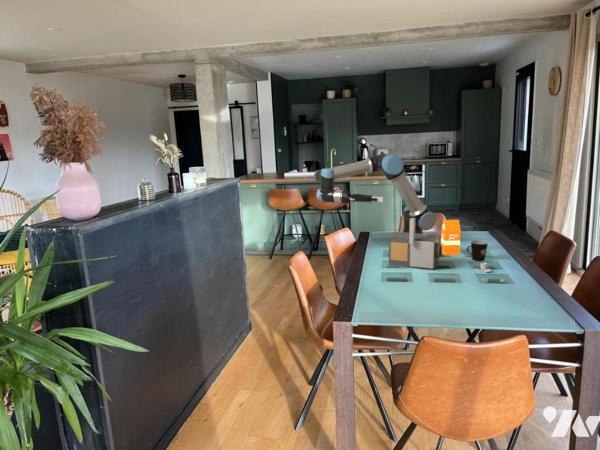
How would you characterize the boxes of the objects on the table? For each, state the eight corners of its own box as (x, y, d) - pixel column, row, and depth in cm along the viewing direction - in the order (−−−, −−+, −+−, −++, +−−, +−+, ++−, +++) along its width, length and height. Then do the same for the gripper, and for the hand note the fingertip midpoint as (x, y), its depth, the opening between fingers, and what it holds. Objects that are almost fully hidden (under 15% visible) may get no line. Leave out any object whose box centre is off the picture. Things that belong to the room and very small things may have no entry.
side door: (410, 265, 242) (411, 217, 237) (433, 267, 237) (435, 219, 232) (408, 267, 239) (409, 219, 233) (432, 270, 233) (433, 220, 228)
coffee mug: (484, 257, 256) (485, 240, 254) (488, 262, 248) (489, 244, 245) (462, 257, 257) (463, 240, 255) (466, 262, 249) (467, 244, 247)
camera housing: (394, 259, 258) (394, 229, 255) (442, 263, 247) (443, 233, 243) (388, 264, 248) (389, 234, 244) (438, 270, 236) (439, 238, 233)
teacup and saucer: (493, 274, 229) (494, 266, 228) (476, 273, 231) (477, 265, 230) (490, 268, 237) (490, 261, 236) (474, 268, 239) (474, 260, 238)
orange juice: (459, 254, 263) (461, 221, 259) (444, 255, 263) (445, 221, 259) (455, 251, 270) (456, 218, 266) (440, 251, 271) (441, 218, 267)
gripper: (346, 201, 267) (385, 204, 258) (338, 205, 256) (380, 208, 246) (346, 188, 265) (386, 191, 256) (339, 192, 254) (380, 194, 244)
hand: (383, 199), depth 251 cm, fingers closed
